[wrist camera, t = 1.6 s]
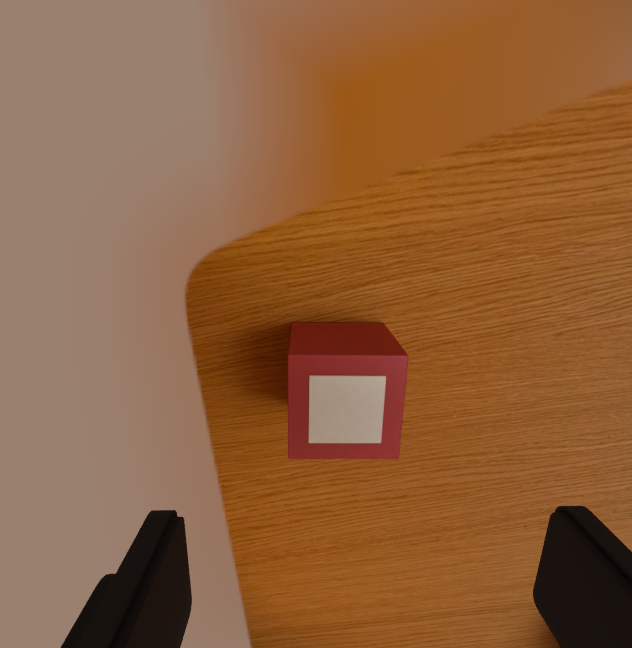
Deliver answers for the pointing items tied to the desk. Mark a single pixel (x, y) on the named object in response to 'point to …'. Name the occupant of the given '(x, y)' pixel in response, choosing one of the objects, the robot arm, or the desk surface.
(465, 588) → the desk surface
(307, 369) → the red block
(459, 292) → the desk surface
